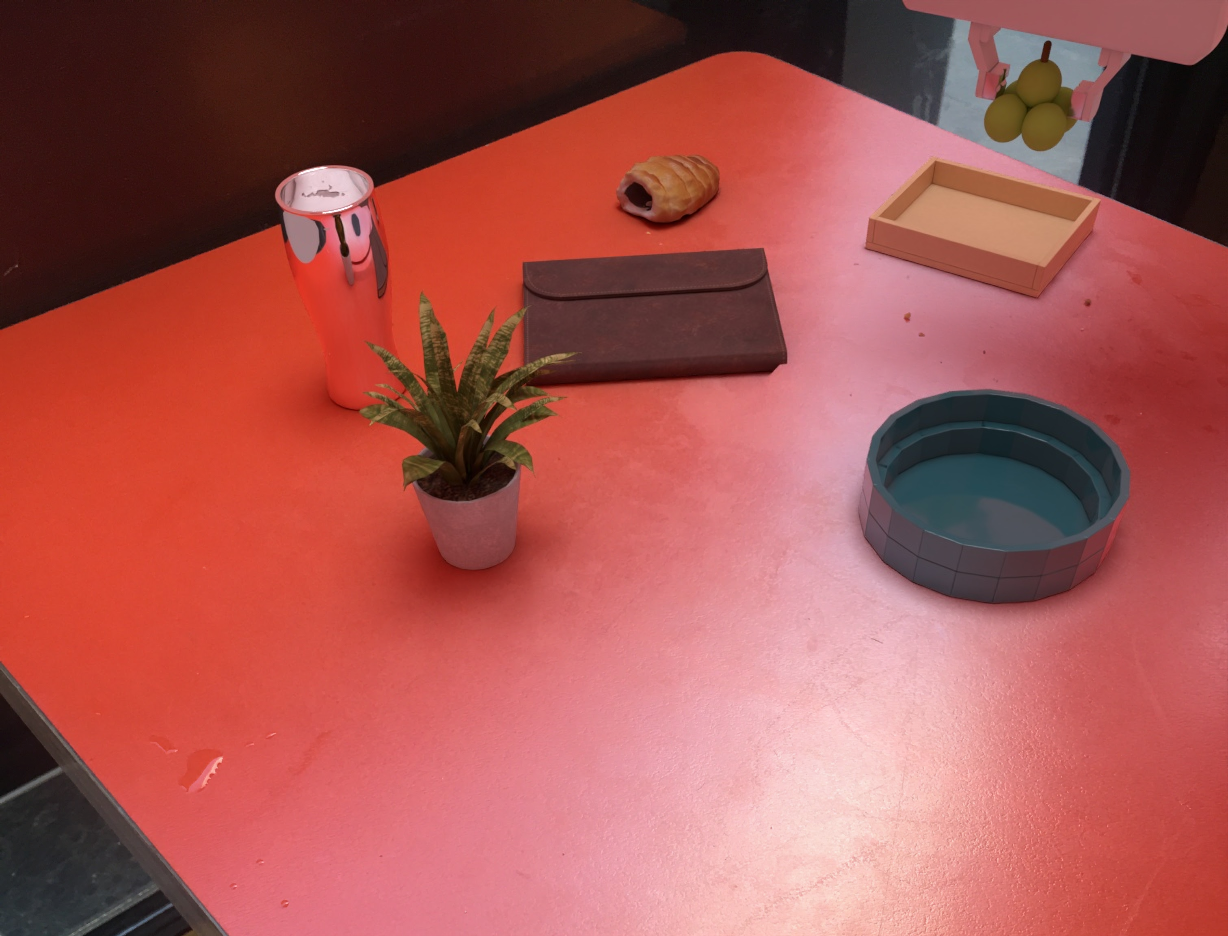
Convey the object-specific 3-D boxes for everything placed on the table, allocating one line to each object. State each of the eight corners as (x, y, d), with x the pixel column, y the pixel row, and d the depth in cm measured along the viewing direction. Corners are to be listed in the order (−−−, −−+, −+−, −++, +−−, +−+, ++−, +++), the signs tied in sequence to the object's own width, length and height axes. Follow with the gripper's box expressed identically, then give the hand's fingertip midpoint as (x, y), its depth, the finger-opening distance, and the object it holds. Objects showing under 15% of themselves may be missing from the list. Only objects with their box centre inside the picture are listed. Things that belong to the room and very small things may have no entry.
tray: (1092, 229, 104) (1101, 199, 102) (1037, 298, 98) (1045, 266, 96) (927, 185, 109) (932, 155, 107) (864, 248, 103) (868, 217, 101)
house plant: (532, 654, 76) (505, 430, 63) (335, 605, 79) (270, 383, 66) (612, 511, 84) (602, 286, 71) (429, 472, 87) (388, 249, 74)
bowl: (1142, 500, 83) (1167, 437, 79) (1051, 647, 75) (1072, 585, 71) (921, 425, 88) (933, 363, 84) (815, 554, 81) (823, 492, 77)
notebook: (786, 372, 93) (788, 348, 91) (526, 388, 93) (523, 364, 91) (761, 267, 102) (763, 244, 100) (524, 281, 102) (522, 258, 100)
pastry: (685, 169, 112) (686, 126, 109) (739, 195, 109) (741, 151, 106) (610, 207, 109) (608, 163, 106) (662, 235, 106) (663, 190, 103)
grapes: (1081, 129, 83) (1105, 32, 78) (1051, 163, 80) (1074, 65, 76) (1005, 112, 85) (1024, 17, 80) (973, 144, 82) (991, 48, 77)
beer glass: (364, 350, 97) (322, 154, 85) (432, 378, 94) (398, 179, 82) (303, 395, 93) (249, 197, 81) (371, 425, 91) (326, 225, 79)
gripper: (1294, -143, 68) (1207, 120, 79) (949, -190, 75) (913, 57, 86) (1262, -107, 65) (1176, 162, 76) (905, -160, 72) (874, 93, 83)
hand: (1034, 106), depth 81 cm, fingers closed on grapes, 5 cm apart
